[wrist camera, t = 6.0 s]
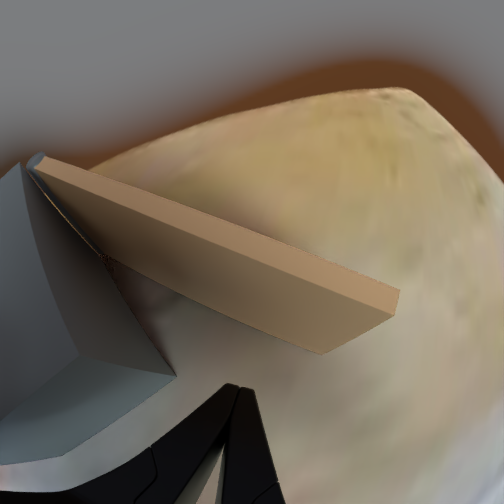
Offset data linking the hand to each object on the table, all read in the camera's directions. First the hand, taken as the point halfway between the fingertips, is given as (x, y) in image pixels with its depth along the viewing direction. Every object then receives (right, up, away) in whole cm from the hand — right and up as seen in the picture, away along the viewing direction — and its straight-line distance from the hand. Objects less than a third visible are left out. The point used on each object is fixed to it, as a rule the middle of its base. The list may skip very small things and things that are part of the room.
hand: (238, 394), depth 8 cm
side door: (-3, +2, +9) cm, 10 cm away
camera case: (-11, -3, +7) cm, 14 cm away
